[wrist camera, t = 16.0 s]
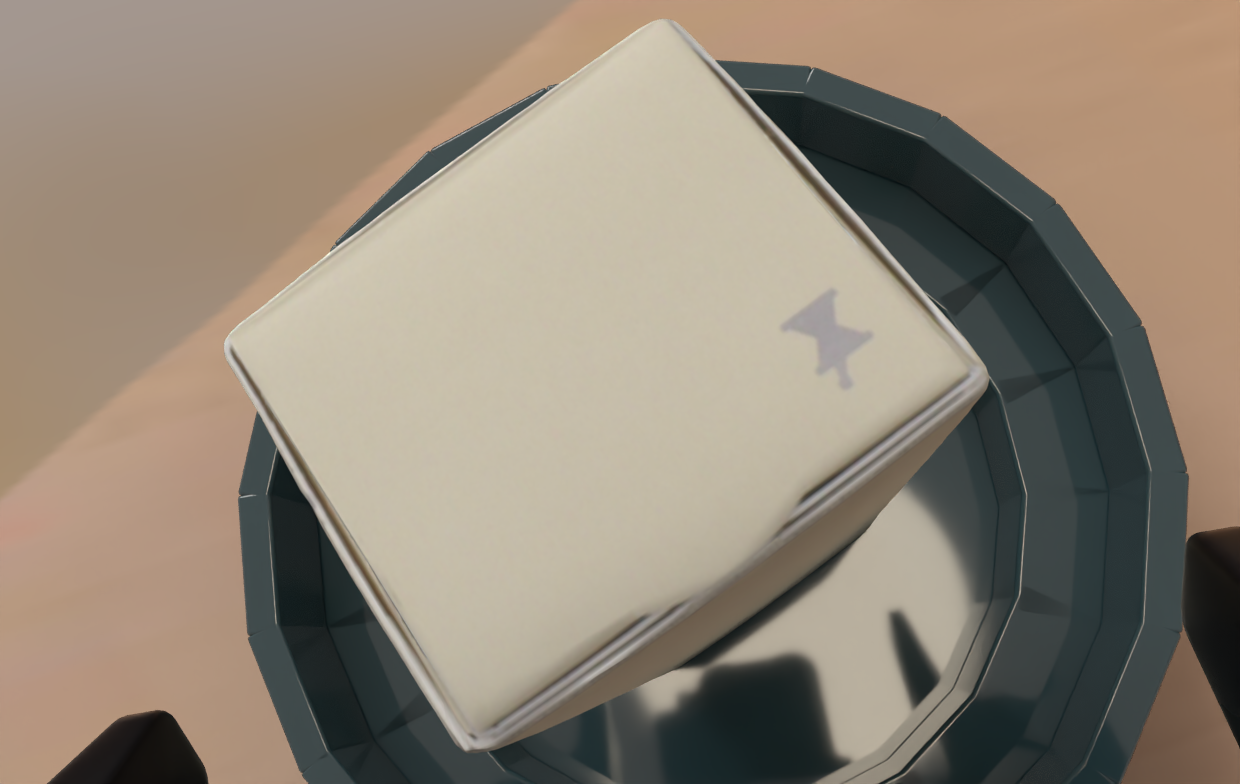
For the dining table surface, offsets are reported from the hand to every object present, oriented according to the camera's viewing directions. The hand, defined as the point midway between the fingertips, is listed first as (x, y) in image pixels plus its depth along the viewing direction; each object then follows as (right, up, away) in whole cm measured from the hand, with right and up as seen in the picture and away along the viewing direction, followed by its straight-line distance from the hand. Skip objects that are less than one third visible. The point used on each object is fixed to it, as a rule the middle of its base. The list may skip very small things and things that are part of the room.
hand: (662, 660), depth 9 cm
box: (+1, 0, +12) cm, 12 cm away
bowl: (+1, 0, +12) cm, 12 cm away
